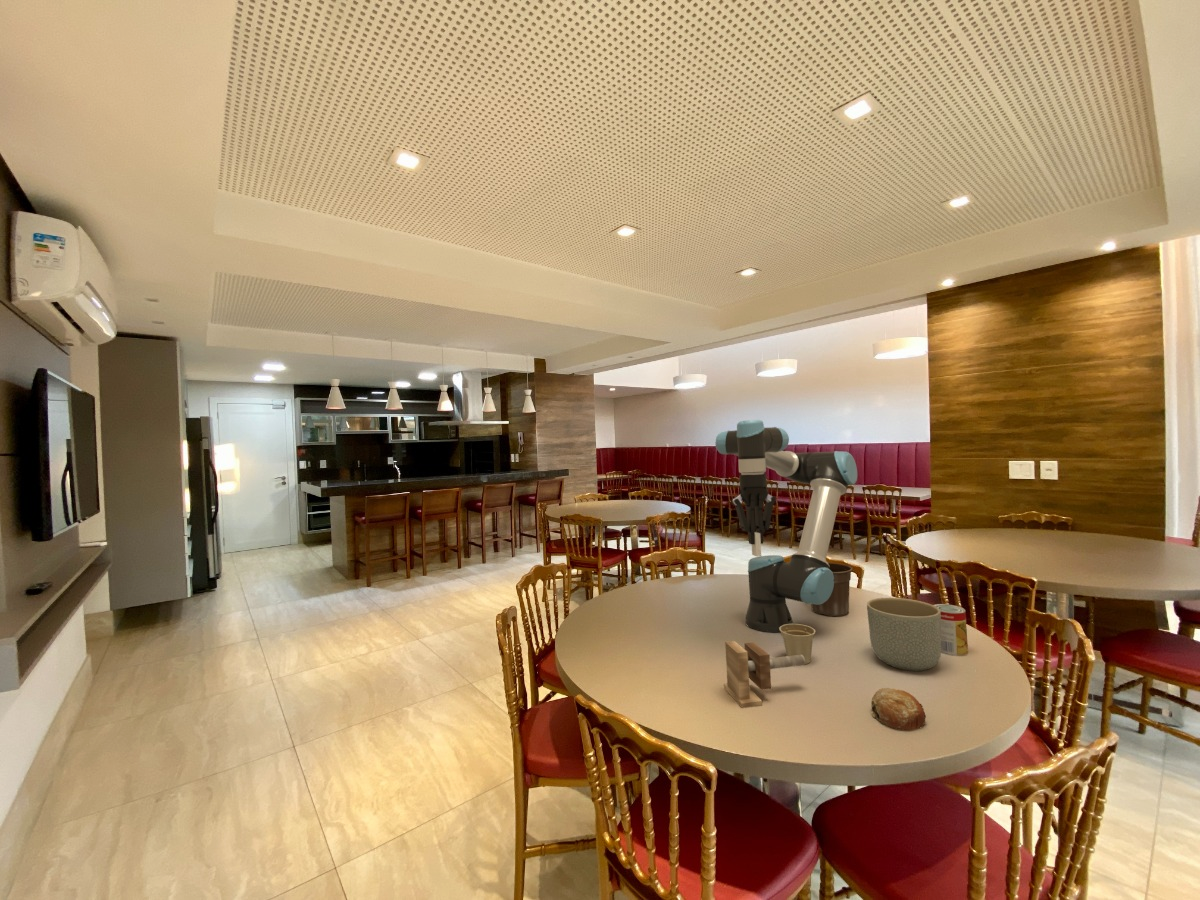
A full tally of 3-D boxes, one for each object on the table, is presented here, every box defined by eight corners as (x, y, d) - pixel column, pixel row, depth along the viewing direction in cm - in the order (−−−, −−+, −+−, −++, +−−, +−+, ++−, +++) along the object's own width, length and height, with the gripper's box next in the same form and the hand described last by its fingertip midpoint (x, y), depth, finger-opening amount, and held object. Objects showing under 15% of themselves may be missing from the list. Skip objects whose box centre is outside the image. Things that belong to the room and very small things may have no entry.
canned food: (969, 649, 137) (967, 607, 137) (966, 658, 131) (963, 614, 131) (936, 642, 142) (934, 602, 142) (931, 651, 136) (929, 609, 137)
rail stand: (792, 679, 124) (790, 632, 124) (816, 697, 114) (813, 647, 114) (724, 687, 121) (721, 640, 121) (741, 707, 111) (739, 655, 111)
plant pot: (797, 606, 181) (794, 563, 182) (837, 603, 183) (834, 560, 183) (821, 620, 165) (818, 573, 165) (865, 616, 167) (862, 570, 167)
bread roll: (870, 724, 109) (854, 693, 108) (907, 700, 109) (891, 670, 109) (901, 750, 99) (883, 716, 99) (942, 724, 100) (924, 691, 99)
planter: (880, 645, 142) (877, 594, 142) (949, 661, 130) (946, 604, 130) (861, 665, 130) (858, 608, 130) (936, 683, 118) (932, 621, 118)
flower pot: (801, 670, 129) (799, 638, 129) (773, 658, 137) (772, 627, 137) (824, 662, 133) (822, 630, 133) (796, 650, 141) (795, 621, 141)
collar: (755, 673, 121) (753, 642, 121) (771, 688, 113) (769, 654, 113) (745, 675, 121) (744, 643, 121) (761, 689, 113) (759, 655, 113)
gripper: (767, 472, 143) (771, 551, 143) (725, 474, 141) (729, 554, 141) (780, 472, 136) (784, 556, 135) (736, 475, 134) (741, 559, 133)
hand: (756, 555), depth 138 cm, fingers closed
